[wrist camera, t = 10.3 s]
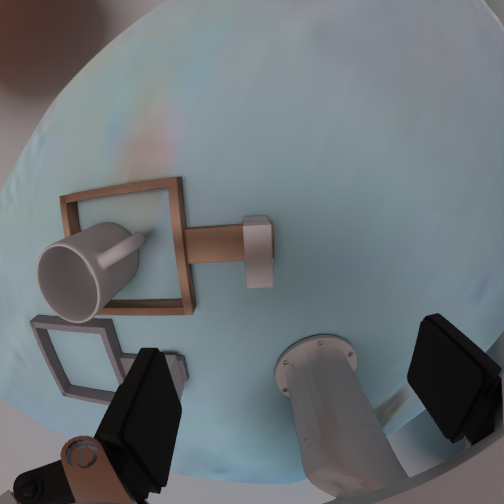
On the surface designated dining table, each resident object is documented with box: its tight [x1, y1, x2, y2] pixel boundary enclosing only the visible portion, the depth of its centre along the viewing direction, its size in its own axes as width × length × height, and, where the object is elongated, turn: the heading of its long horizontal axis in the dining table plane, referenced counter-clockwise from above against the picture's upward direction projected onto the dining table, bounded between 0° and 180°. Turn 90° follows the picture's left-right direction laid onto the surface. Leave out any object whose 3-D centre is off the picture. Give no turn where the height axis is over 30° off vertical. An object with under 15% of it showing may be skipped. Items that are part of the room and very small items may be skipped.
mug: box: [37, 223, 146, 323], centre depth 27 cm, size 12×8×11 cm
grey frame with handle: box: [30, 315, 189, 405], centre depth 33 cm, size 16×26×7 cm, turn 93°
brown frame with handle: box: [59, 177, 274, 315], centre depth 29 cm, size 16×26×7 cm, turn 93°
